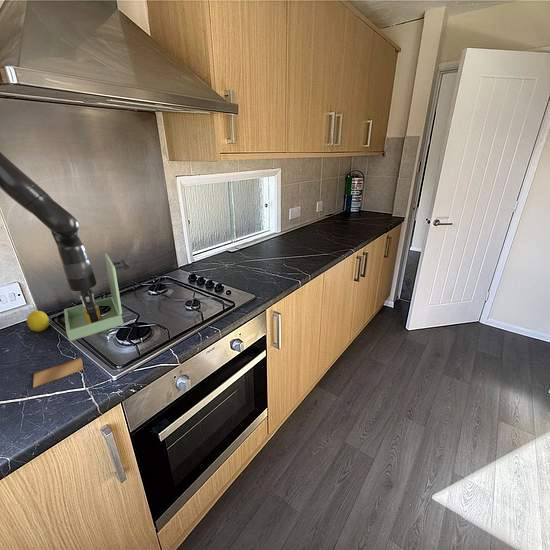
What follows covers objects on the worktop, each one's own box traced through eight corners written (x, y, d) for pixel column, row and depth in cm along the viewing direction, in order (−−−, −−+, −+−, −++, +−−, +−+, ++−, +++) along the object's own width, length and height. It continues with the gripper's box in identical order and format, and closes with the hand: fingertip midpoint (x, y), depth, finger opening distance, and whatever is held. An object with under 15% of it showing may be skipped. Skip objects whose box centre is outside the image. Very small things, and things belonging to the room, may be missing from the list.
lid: (112, 267, 92) (132, 264, 95) (104, 253, 105) (122, 251, 108) (119, 314, 98) (138, 310, 101) (111, 295, 111) (127, 292, 114)
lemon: (54, 331, 98) (46, 310, 95) (34, 338, 94) (24, 317, 91) (50, 325, 102) (42, 305, 98) (30, 332, 98) (21, 311, 95)
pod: (87, 326, 99) (83, 313, 97) (86, 320, 102) (82, 308, 100) (103, 321, 101) (99, 309, 99) (101, 316, 105) (97, 304, 103)
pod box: (70, 343, 91) (66, 331, 90) (67, 319, 105) (63, 309, 103) (124, 326, 100) (121, 315, 98) (115, 306, 113) (112, 296, 111)
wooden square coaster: (33, 387, 74) (33, 386, 74) (35, 364, 83) (34, 363, 82) (83, 369, 80) (83, 368, 80) (80, 349, 88) (79, 348, 88)
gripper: (65, 270, 98) (79, 312, 105) (66, 284, 87) (83, 329, 94) (90, 264, 102) (103, 305, 108) (95, 277, 91) (109, 321, 98)
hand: (93, 316), depth 101 cm, fingers open, 8 cm apart
